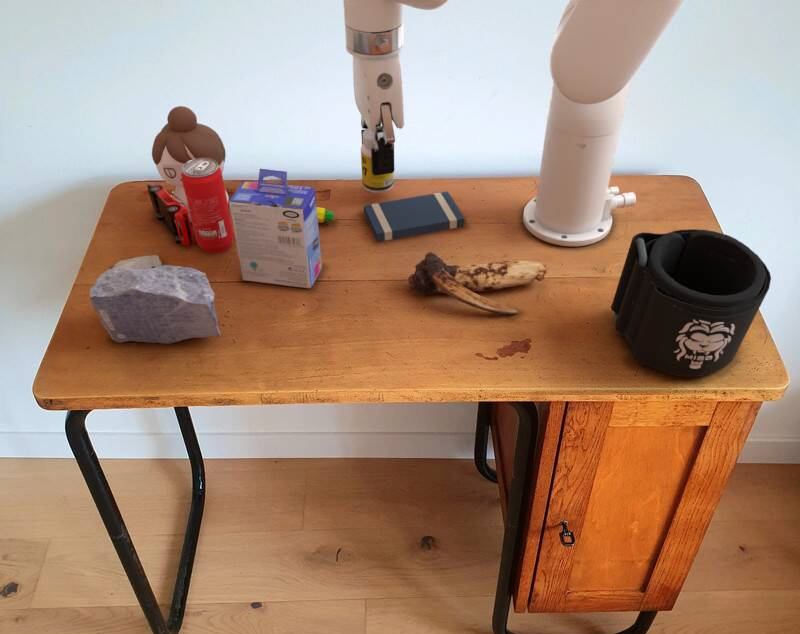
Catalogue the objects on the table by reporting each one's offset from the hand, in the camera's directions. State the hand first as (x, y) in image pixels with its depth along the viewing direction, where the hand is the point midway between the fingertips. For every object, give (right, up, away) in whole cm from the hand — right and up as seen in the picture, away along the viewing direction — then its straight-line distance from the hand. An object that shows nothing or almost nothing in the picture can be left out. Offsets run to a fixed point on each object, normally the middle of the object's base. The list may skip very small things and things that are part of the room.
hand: (378, 162), depth 113 cm
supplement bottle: (0, -3, +3) cm, 4 cm away
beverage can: (-23, -13, -4) cm, 26 cm away
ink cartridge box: (-12, -18, -9) cm, 24 cm away
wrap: (+36, -27, -19) cm, 49 cm away
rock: (-25, -27, -17) cm, 41 cm away
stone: (-31, -18, -10) cm, 37 cm away
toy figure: (-19, -7, -2) cm, 20 cm away
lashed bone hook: (+13, -21, -13) cm, 28 cm away
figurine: (-26, -6, +2) cm, 27 cm away
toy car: (-31, -9, -4) cm, 32 cm away
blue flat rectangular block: (+5, -9, -1) cm, 10 cm away
